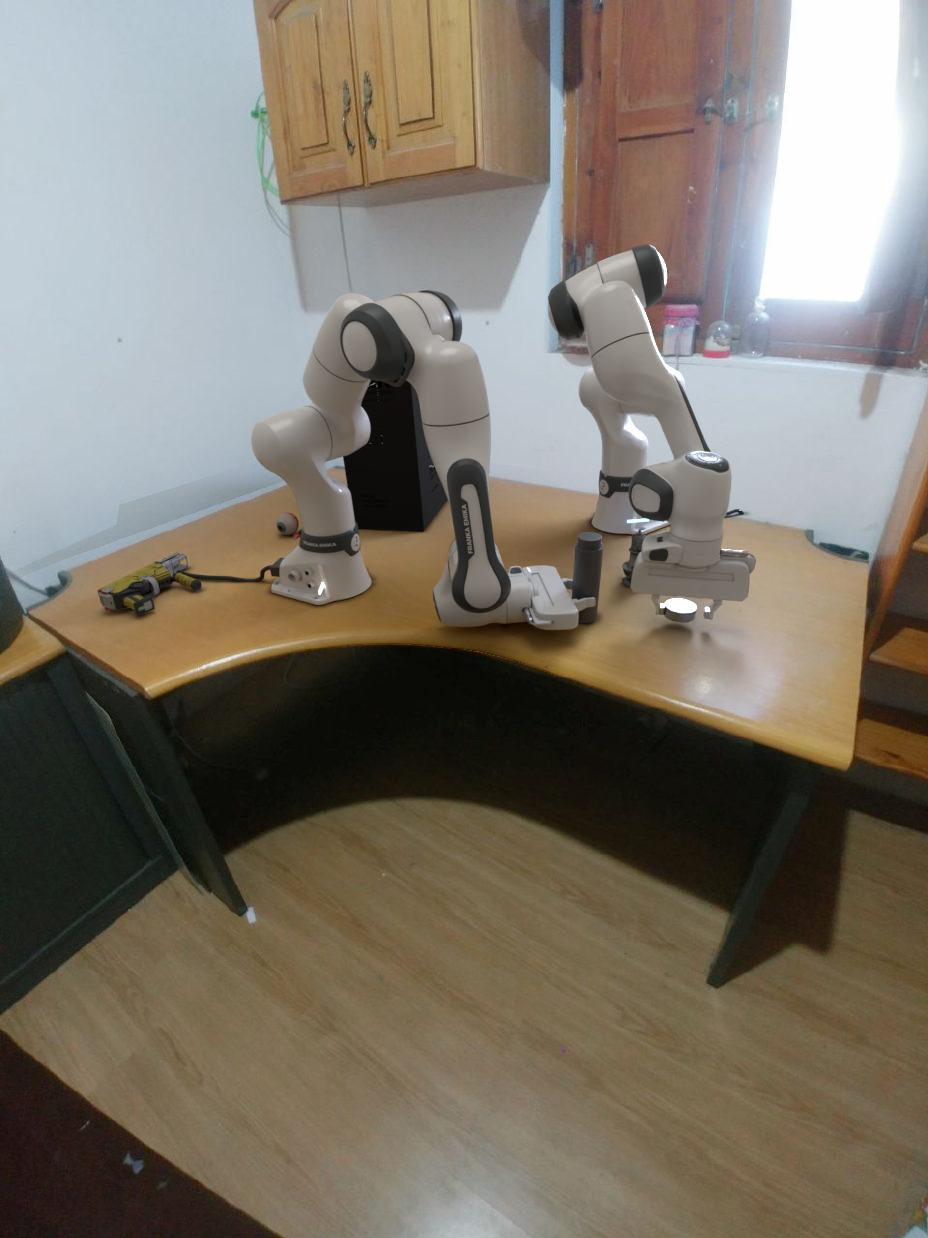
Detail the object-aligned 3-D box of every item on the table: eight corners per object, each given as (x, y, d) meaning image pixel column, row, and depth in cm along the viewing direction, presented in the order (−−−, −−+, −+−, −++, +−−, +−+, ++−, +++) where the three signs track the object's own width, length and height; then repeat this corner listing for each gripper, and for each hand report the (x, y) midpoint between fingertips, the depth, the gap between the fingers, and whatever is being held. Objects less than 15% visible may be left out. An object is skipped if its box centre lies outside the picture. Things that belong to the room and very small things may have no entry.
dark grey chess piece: (649, 588, 127) (655, 535, 121) (620, 586, 128) (625, 534, 122) (647, 575, 132) (653, 524, 126) (620, 574, 133) (624, 523, 127)
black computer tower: (424, 530, 162) (407, 348, 139) (353, 528, 166) (326, 351, 144) (457, 486, 193) (448, 332, 171) (397, 485, 198) (380, 334, 175)
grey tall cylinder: (602, 618, 118) (610, 537, 109) (581, 626, 115) (588, 543, 107) (585, 608, 121) (591, 529, 113) (565, 614, 119) (569, 534, 111)
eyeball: (273, 537, 164) (268, 516, 161) (287, 528, 169) (282, 508, 166) (291, 539, 161) (286, 518, 158) (305, 530, 166) (301, 510, 163)
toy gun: (225, 560, 144) (174, 549, 148) (148, 603, 124) (91, 589, 127) (228, 578, 146) (177, 567, 150) (152, 623, 126) (96, 609, 130)
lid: (657, 615, 113) (659, 606, 112) (672, 604, 117) (673, 595, 116) (686, 626, 110) (688, 616, 109) (700, 614, 113) (702, 604, 112)
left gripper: (528, 611, 105) (606, 603, 105) (510, 562, 122) (577, 556, 123) (528, 641, 108) (604, 634, 109) (510, 590, 125) (575, 584, 126)
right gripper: (755, 544, 106) (741, 612, 113) (635, 537, 111) (628, 602, 118) (760, 558, 101) (745, 629, 108) (634, 551, 106) (627, 618, 113)
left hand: (589, 592), depth 116 cm, fingers closed on grey tall cylinder, 5 cm apart
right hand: (683, 615), depth 113 cm, fingers open, 7 cm apart
